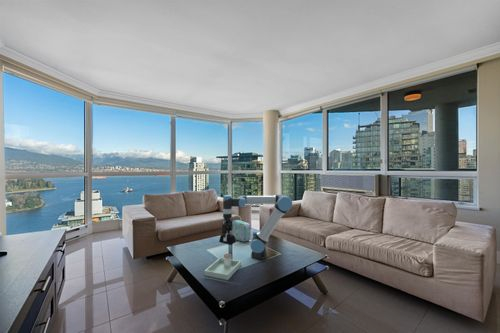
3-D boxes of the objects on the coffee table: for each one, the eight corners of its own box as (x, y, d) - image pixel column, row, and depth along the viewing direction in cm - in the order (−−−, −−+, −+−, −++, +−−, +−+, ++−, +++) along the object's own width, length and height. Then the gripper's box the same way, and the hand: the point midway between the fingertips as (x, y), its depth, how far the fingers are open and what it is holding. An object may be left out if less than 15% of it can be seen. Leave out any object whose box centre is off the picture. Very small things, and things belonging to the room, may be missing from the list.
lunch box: (229, 237, 244) (228, 219, 244) (235, 235, 251) (235, 217, 251) (244, 243, 225) (244, 223, 225) (251, 241, 232) (251, 221, 232)
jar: (233, 264, 175) (232, 254, 175) (229, 268, 169) (229, 257, 169) (226, 263, 177) (226, 253, 177) (222, 267, 171) (222, 256, 171)
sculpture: (230, 245, 176) (230, 227, 176) (218, 241, 183) (218, 224, 183) (236, 242, 182) (236, 225, 182) (224, 239, 190) (224, 222, 190)
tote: (241, 266, 174) (241, 260, 174) (227, 281, 152) (227, 275, 152) (220, 262, 181) (220, 257, 181) (204, 276, 159) (204, 270, 159)
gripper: (229, 210, 193) (229, 235, 193) (217, 215, 175) (217, 242, 175) (236, 211, 190) (236, 236, 190) (225, 216, 172) (225, 244, 172)
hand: (227, 239), depth 183 cm, fingers closed on sculpture, 7 cm apart
